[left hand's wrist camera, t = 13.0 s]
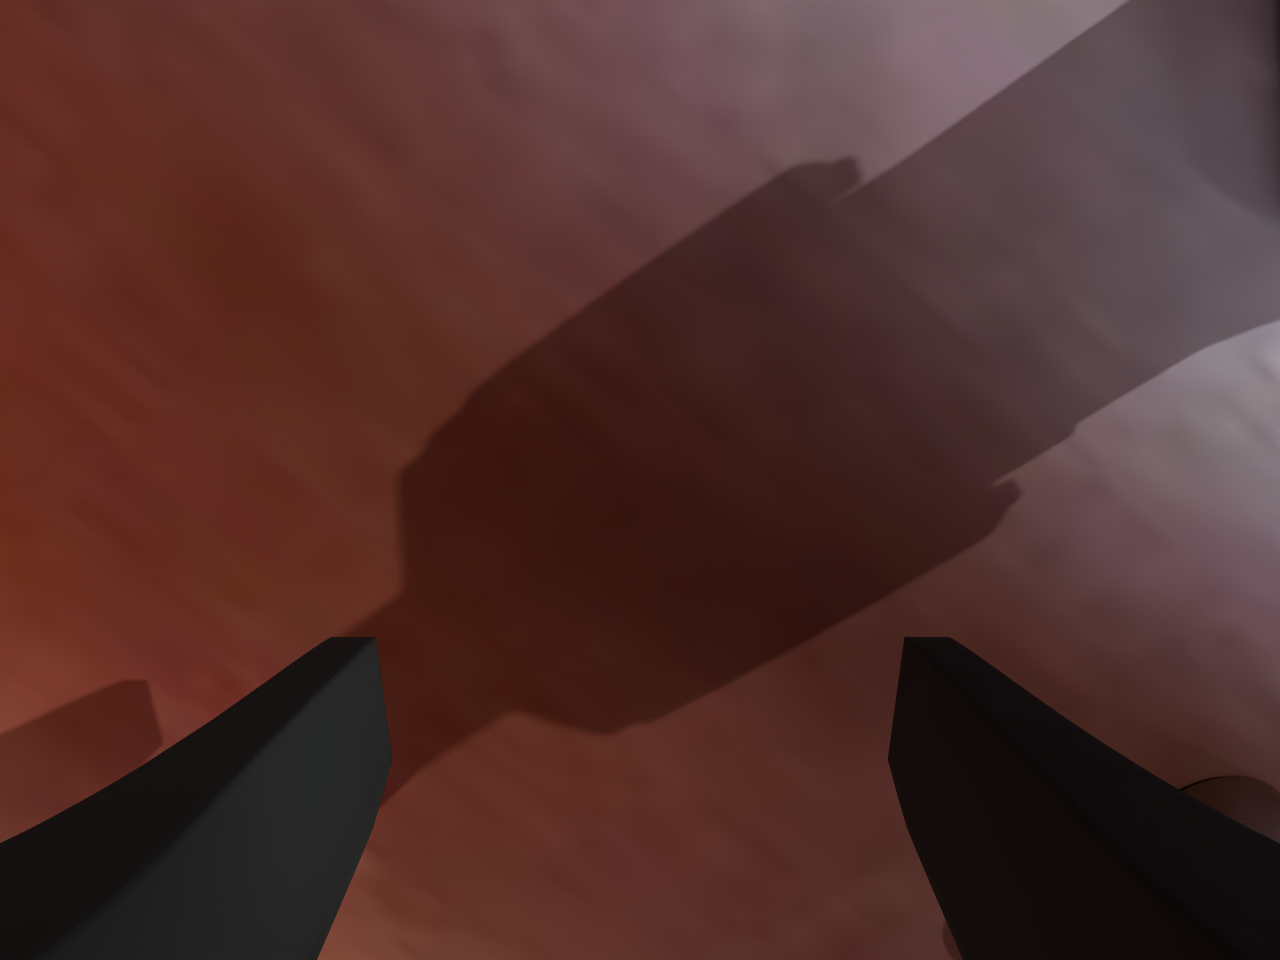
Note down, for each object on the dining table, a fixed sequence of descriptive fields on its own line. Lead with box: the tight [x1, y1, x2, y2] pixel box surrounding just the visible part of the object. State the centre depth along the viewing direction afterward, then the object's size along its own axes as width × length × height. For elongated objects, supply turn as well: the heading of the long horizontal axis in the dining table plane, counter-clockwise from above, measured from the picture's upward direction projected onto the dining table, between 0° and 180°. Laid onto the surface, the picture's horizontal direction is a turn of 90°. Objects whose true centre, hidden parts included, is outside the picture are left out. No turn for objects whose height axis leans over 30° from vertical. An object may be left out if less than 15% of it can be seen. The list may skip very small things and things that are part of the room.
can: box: [1182, 777, 1280, 843], centre depth 21 cm, size 4×4×5 cm
